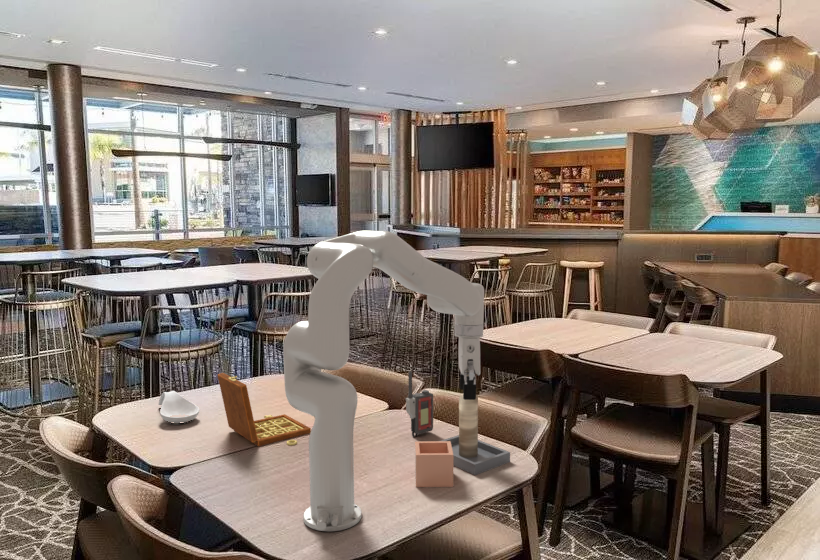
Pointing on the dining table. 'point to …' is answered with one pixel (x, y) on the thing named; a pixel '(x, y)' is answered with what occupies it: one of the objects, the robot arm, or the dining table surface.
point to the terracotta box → (433, 464)
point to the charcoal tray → (479, 457)
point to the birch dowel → (468, 427)
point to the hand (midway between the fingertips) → (467, 394)
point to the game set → (243, 418)
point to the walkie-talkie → (419, 410)
